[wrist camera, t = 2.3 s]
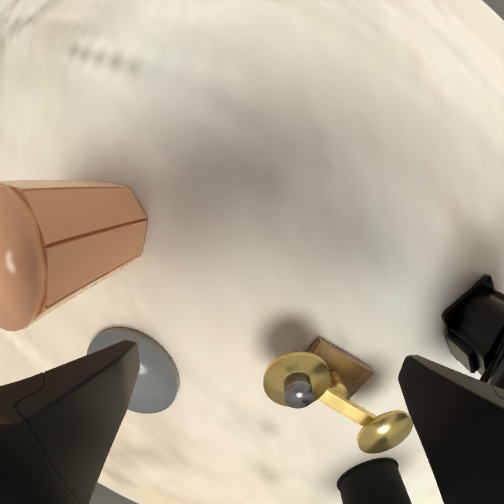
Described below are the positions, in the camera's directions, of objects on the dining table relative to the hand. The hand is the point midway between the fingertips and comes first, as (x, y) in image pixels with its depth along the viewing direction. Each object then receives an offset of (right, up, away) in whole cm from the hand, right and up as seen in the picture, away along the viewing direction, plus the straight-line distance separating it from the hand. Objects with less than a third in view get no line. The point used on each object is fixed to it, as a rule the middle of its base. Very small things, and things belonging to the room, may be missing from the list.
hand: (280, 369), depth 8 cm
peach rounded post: (-12, +6, +12) cm, 18 cm away
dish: (-12, -7, +15) cm, 20 cm away
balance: (+6, -6, +14) cm, 16 cm away
